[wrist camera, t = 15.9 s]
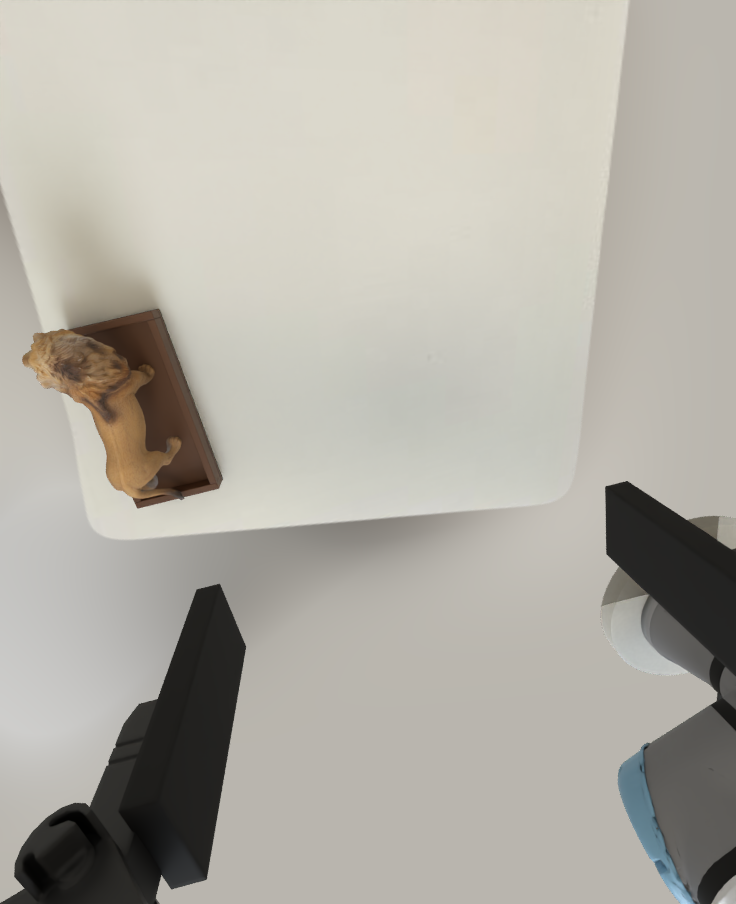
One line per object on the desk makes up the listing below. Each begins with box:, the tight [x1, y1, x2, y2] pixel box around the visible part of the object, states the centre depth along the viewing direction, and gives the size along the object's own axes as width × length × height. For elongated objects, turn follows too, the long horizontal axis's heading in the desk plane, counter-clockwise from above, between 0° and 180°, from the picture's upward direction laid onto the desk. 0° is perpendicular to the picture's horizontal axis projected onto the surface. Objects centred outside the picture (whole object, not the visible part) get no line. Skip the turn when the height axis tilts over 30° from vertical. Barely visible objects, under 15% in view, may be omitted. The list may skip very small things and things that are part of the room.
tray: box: [69, 309, 223, 508], centre depth 38 cm, size 15×7×2 cm, turn 12°
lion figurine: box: [22, 329, 184, 500], centre depth 34 cm, size 15×5×9 cm, turn 20°
